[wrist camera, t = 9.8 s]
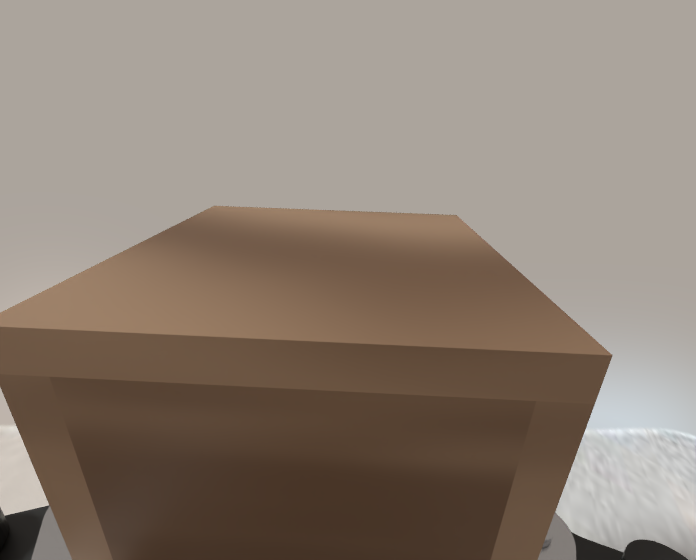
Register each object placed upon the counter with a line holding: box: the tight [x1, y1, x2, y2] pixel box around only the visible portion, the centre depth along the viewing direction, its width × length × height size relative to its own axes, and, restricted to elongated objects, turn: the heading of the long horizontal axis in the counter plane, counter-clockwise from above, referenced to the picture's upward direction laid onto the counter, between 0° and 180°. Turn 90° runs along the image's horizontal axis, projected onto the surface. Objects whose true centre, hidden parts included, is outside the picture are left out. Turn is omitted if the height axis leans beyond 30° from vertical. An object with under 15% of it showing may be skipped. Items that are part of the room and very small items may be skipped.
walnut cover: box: [0, 206, 612, 560], centre depth 9 cm, size 6×6×12 cm
